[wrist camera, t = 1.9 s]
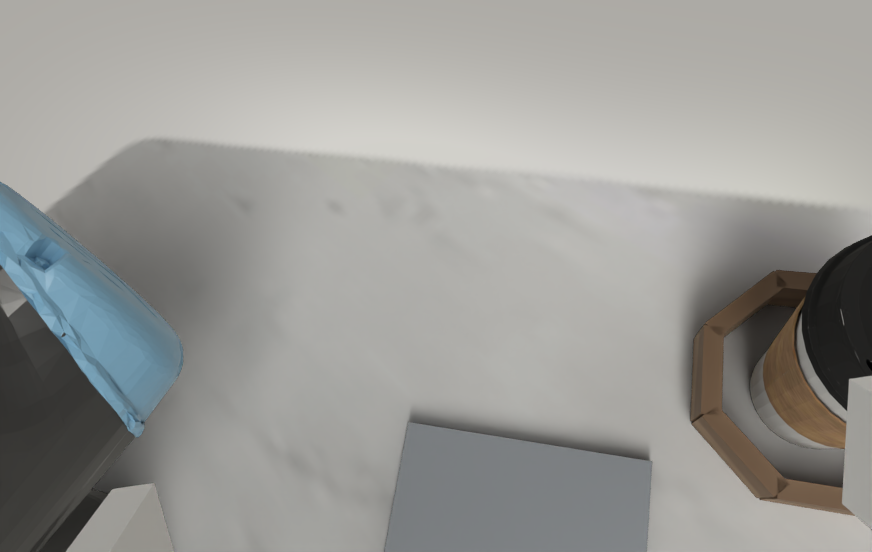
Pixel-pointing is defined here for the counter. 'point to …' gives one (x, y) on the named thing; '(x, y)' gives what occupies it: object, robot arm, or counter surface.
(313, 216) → the counter surface
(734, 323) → the cup cradle
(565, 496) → the rubber mat
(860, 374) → the coffee cup
